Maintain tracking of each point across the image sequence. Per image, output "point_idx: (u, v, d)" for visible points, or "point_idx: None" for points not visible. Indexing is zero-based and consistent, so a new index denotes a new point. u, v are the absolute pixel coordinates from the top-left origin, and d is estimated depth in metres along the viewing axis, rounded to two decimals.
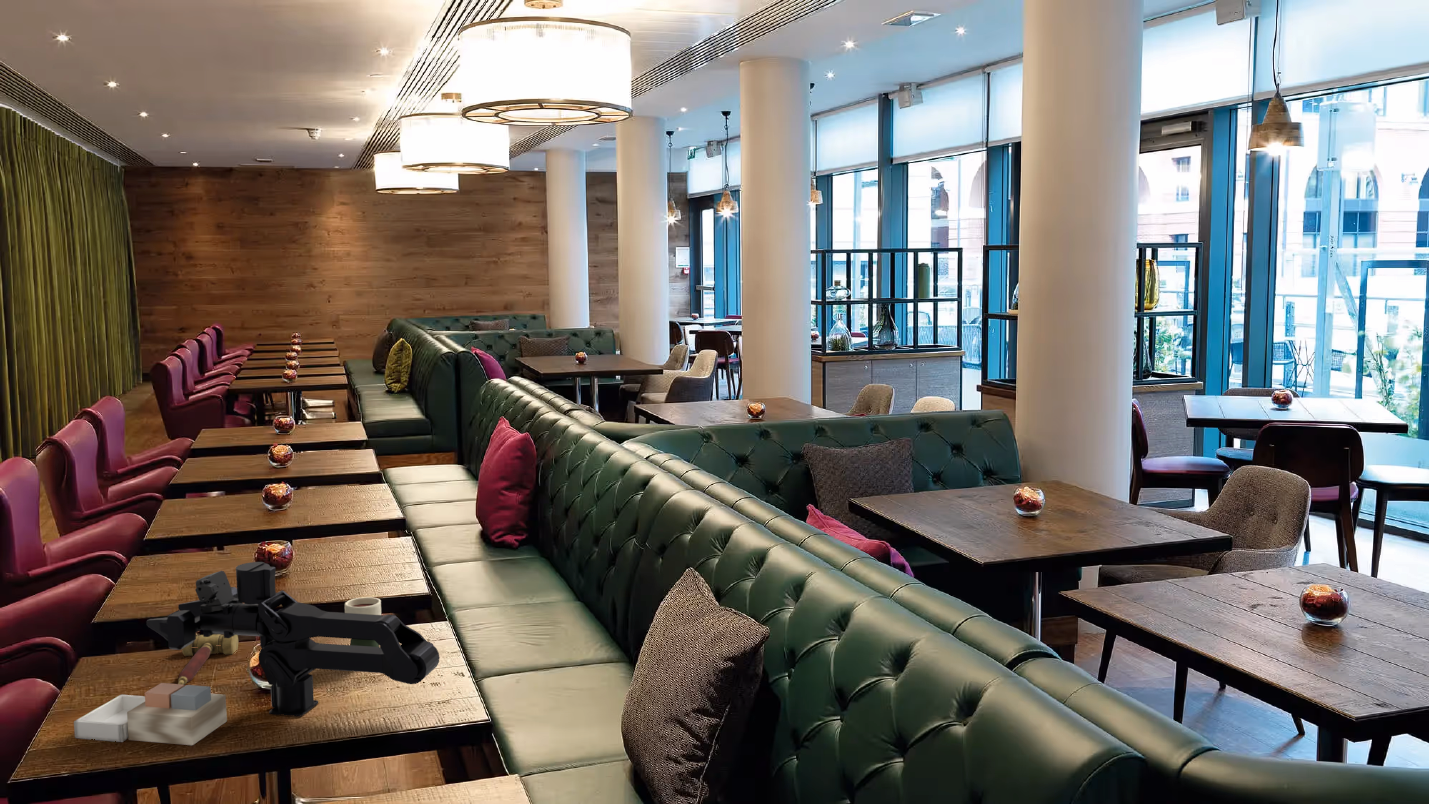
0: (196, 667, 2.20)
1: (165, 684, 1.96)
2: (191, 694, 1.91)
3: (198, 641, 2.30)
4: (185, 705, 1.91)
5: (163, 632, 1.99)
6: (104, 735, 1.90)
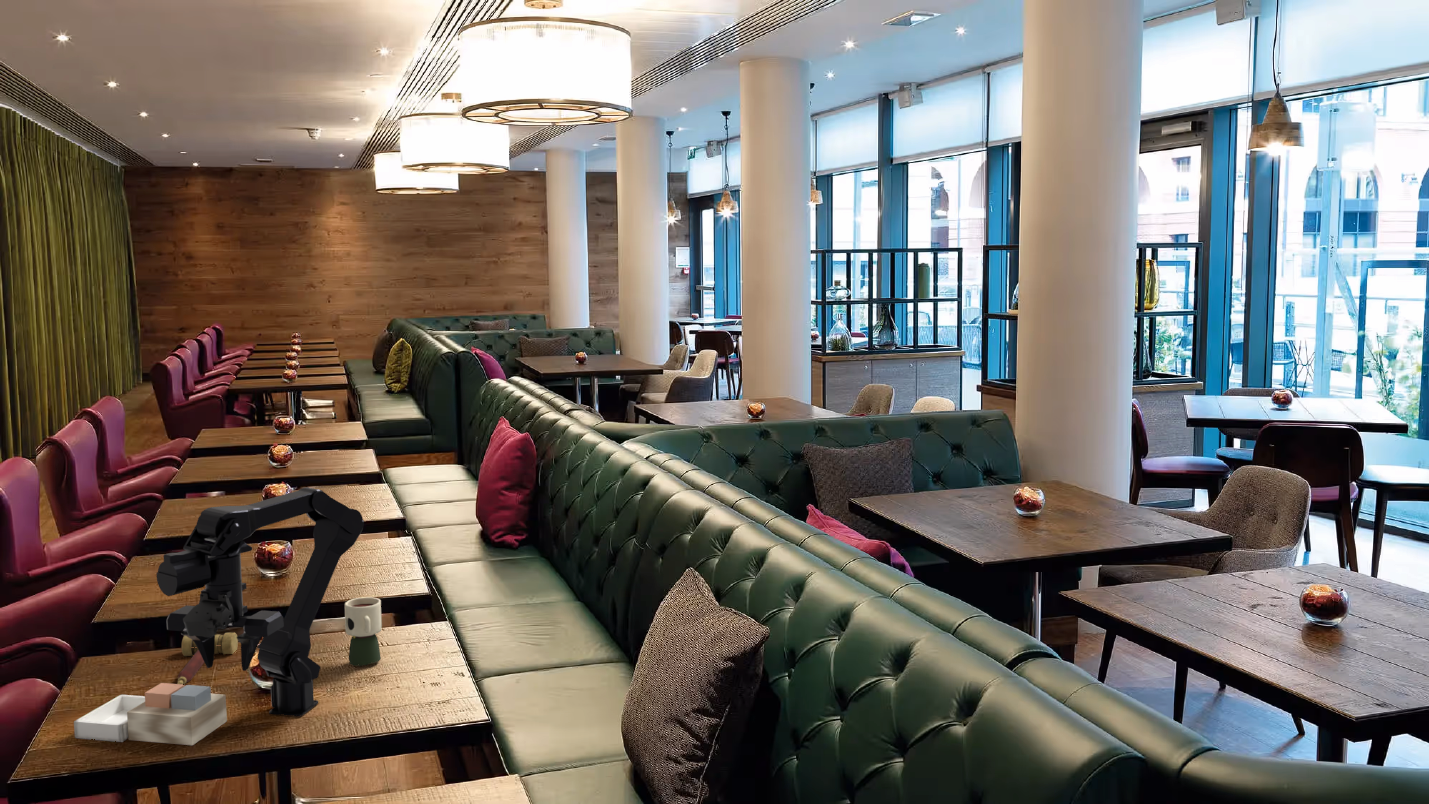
0: (196, 667, 2.20)
1: (165, 684, 1.96)
2: (191, 694, 1.91)
3: None
4: (185, 705, 1.91)
5: (255, 645, 1.91)
6: (104, 735, 1.90)
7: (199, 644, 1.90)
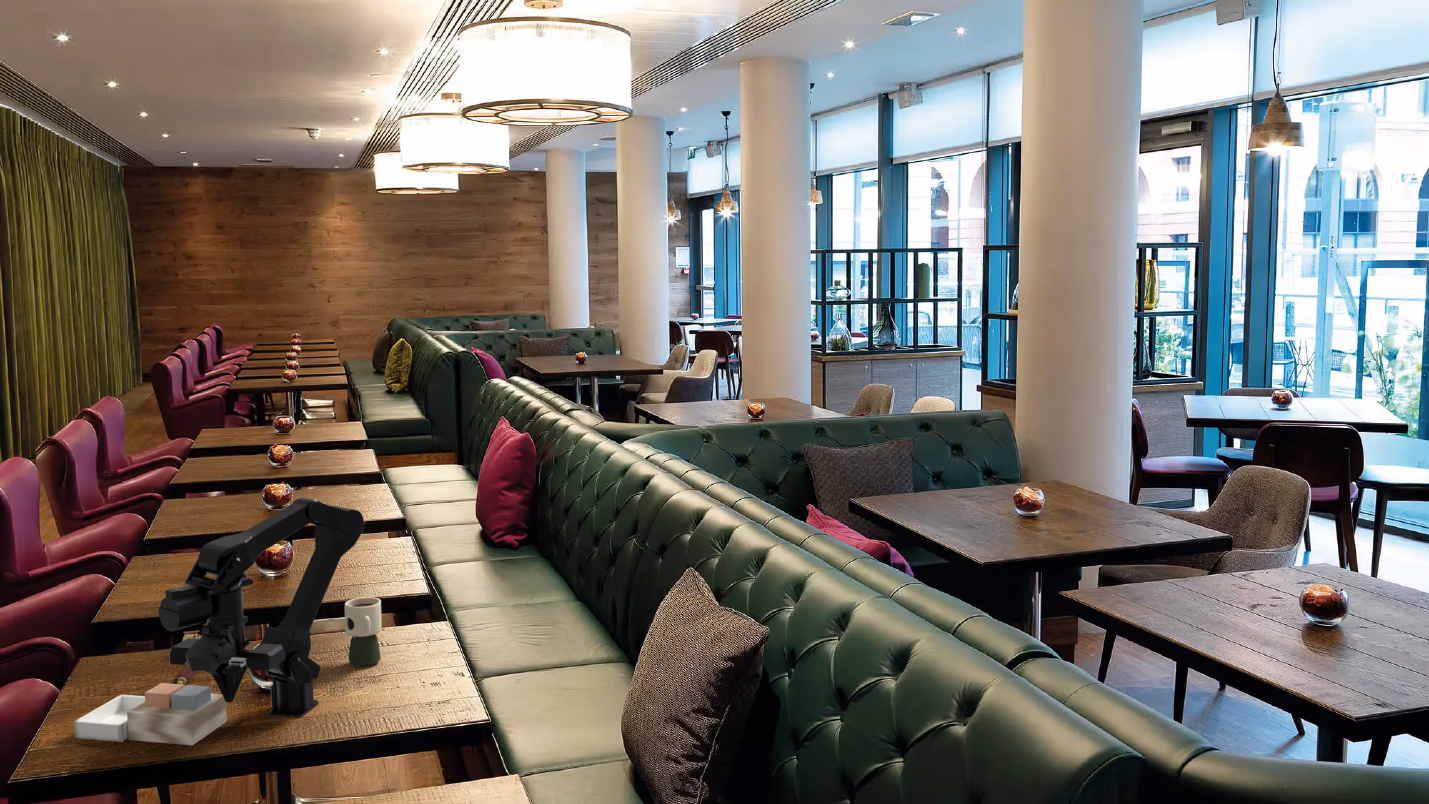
0: None
1: (165, 684, 1.96)
2: (191, 694, 1.91)
3: None
4: (185, 705, 1.91)
5: (240, 677, 1.92)
6: (104, 735, 1.90)
7: (218, 679, 1.90)
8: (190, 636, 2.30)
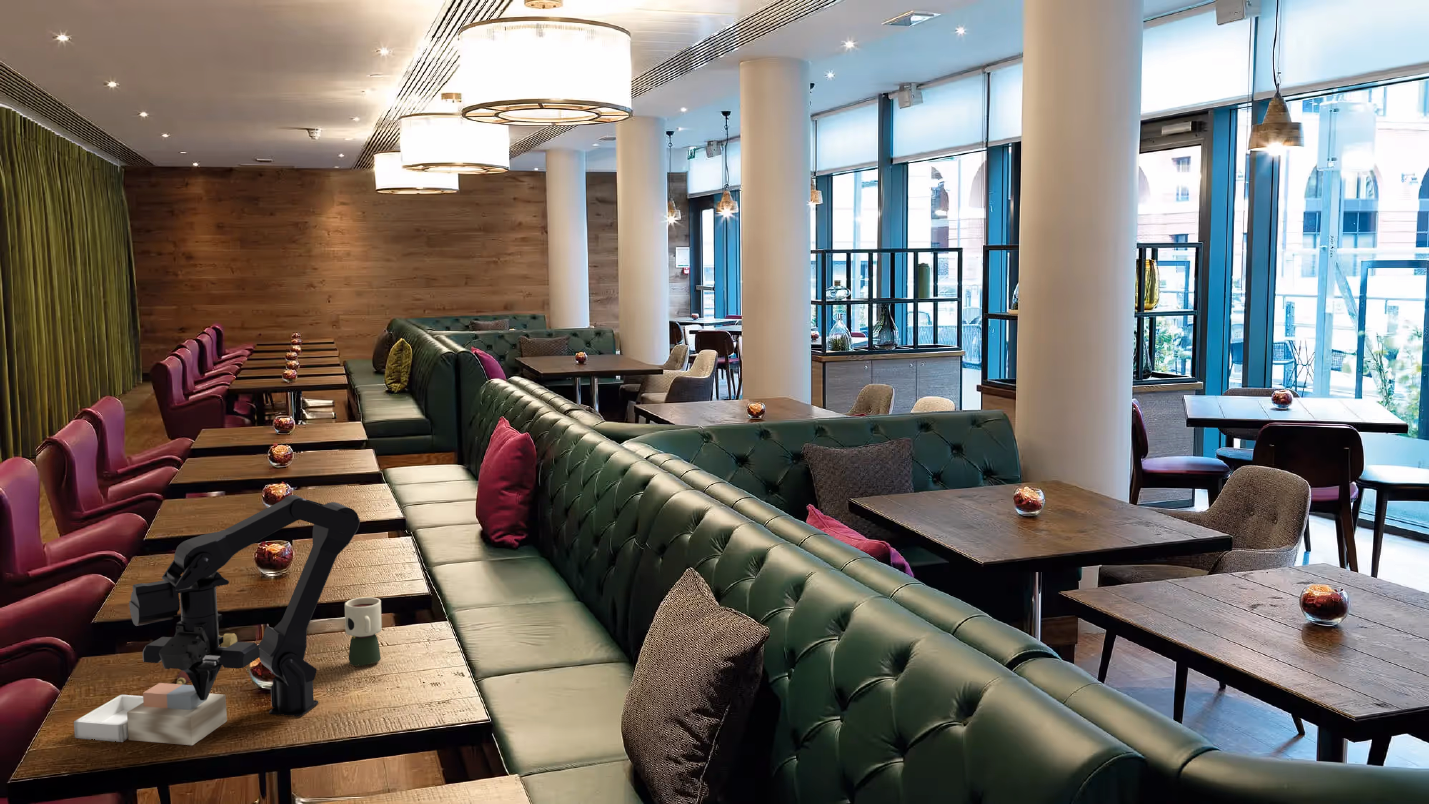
0: None
1: (163, 684, 1.96)
2: (187, 693, 1.92)
3: None
4: (181, 705, 1.91)
5: (214, 675, 1.93)
6: (104, 735, 1.90)
7: (192, 677, 1.91)
8: None
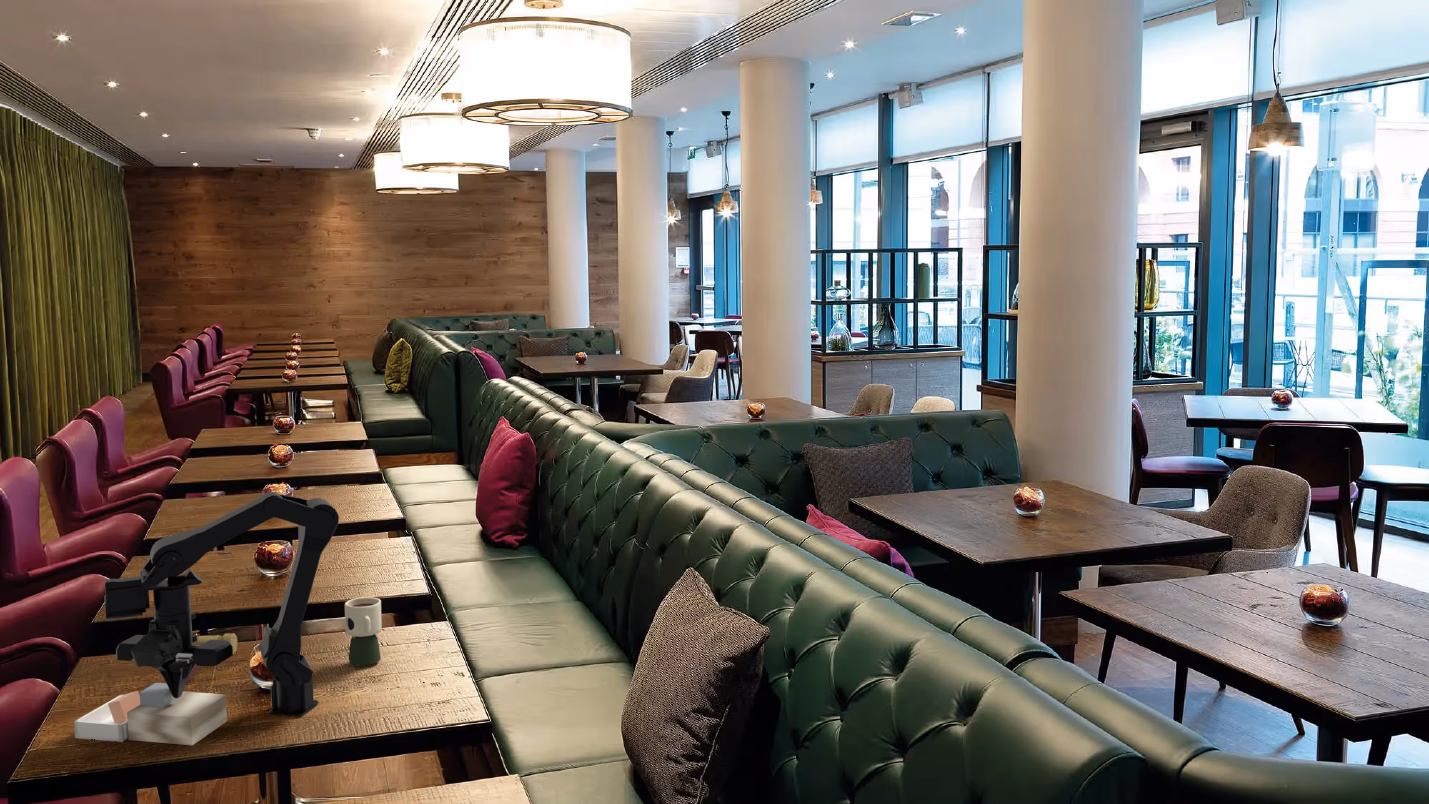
0: (195, 668, 2.19)
1: None
2: (160, 692, 1.92)
3: (197, 642, 2.29)
4: (153, 703, 1.92)
5: (188, 673, 1.94)
6: (104, 735, 1.90)
7: (166, 675, 1.92)
8: None
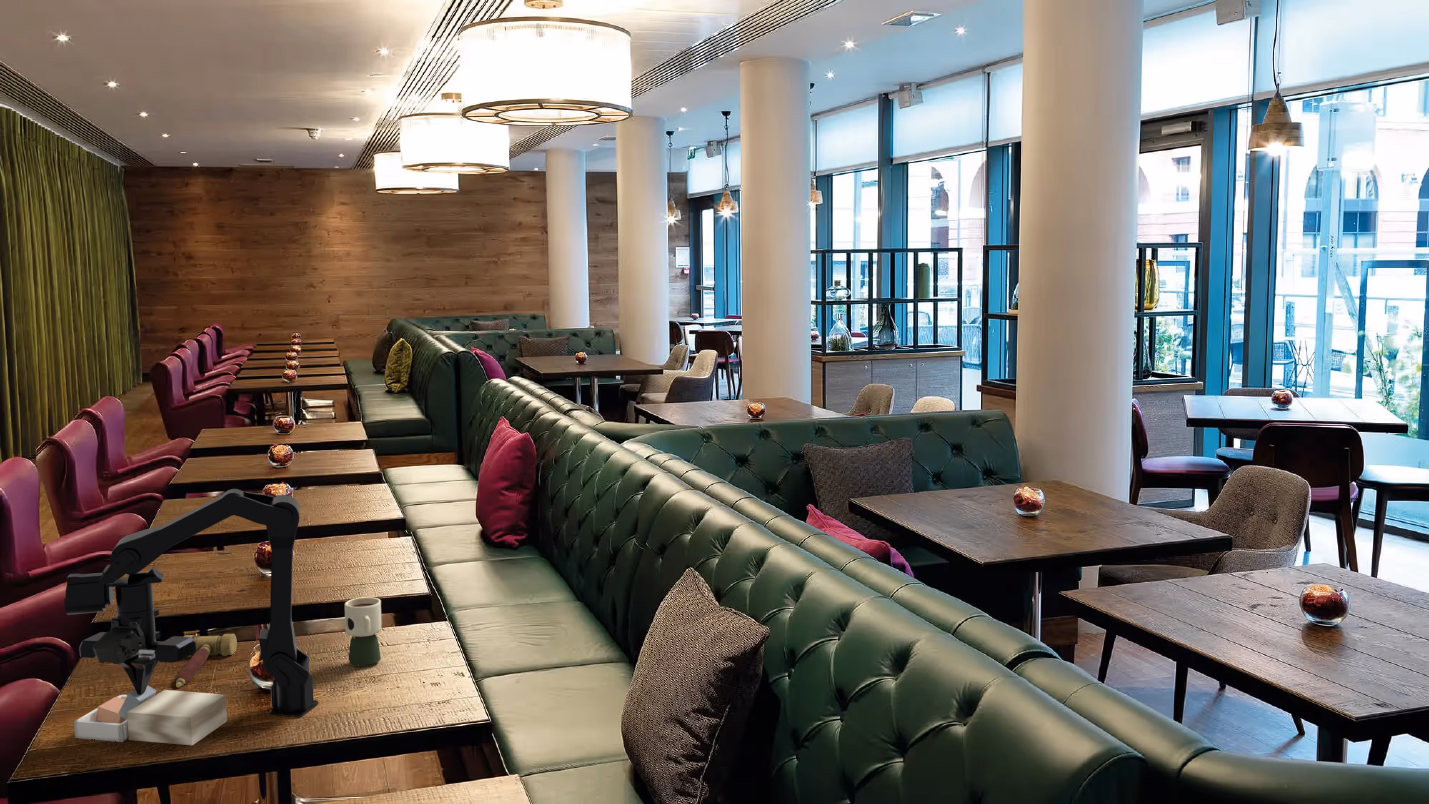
0: (194, 669, 2.19)
1: None
2: None
3: (196, 643, 2.29)
4: (132, 707, 1.93)
5: (151, 669, 1.95)
6: (104, 735, 1.90)
7: (129, 672, 1.93)
8: None
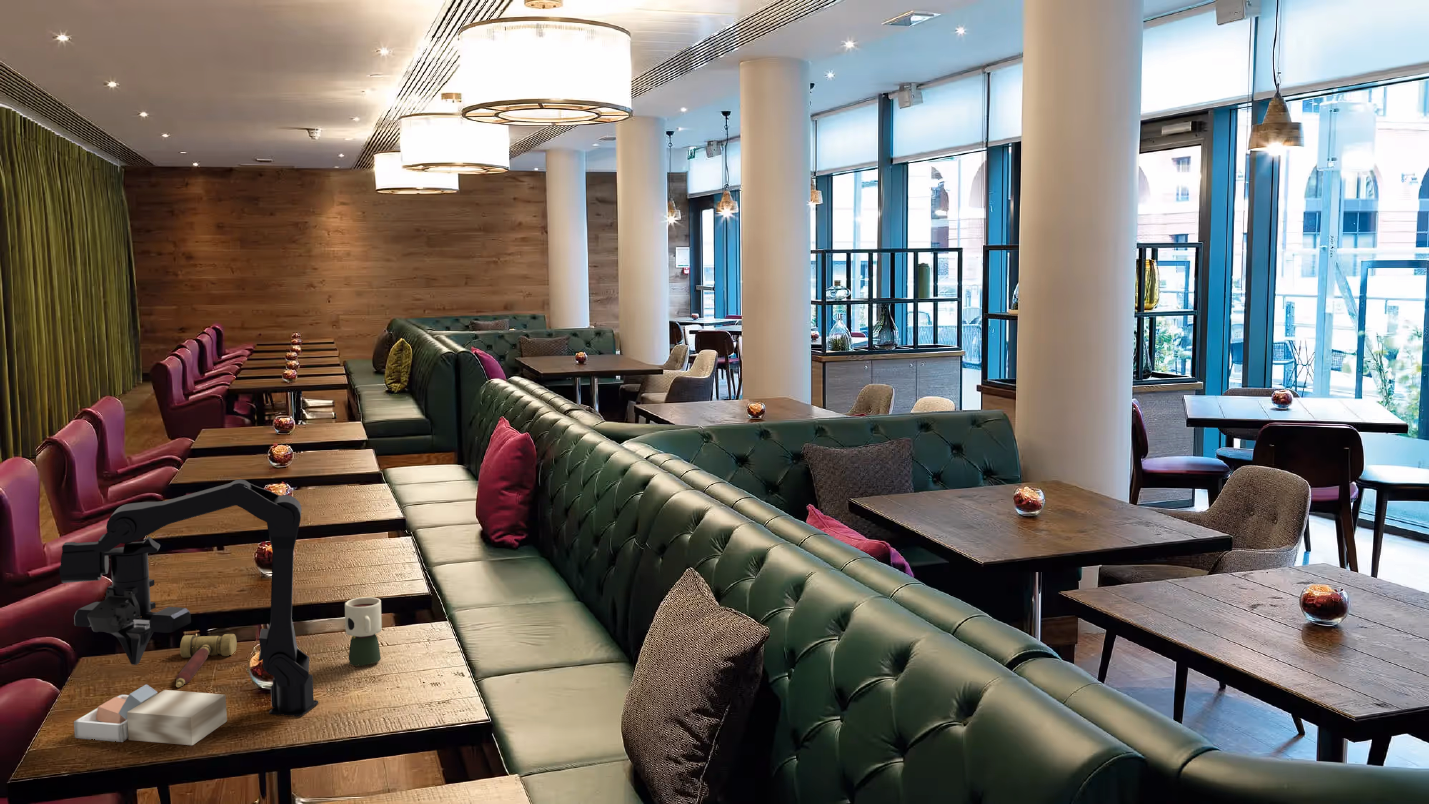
0: (194, 669, 2.19)
1: None
2: None
3: (196, 643, 2.29)
4: None
5: (146, 640, 1.94)
6: (104, 735, 1.90)
7: (123, 641, 1.92)
8: (189, 637, 2.29)
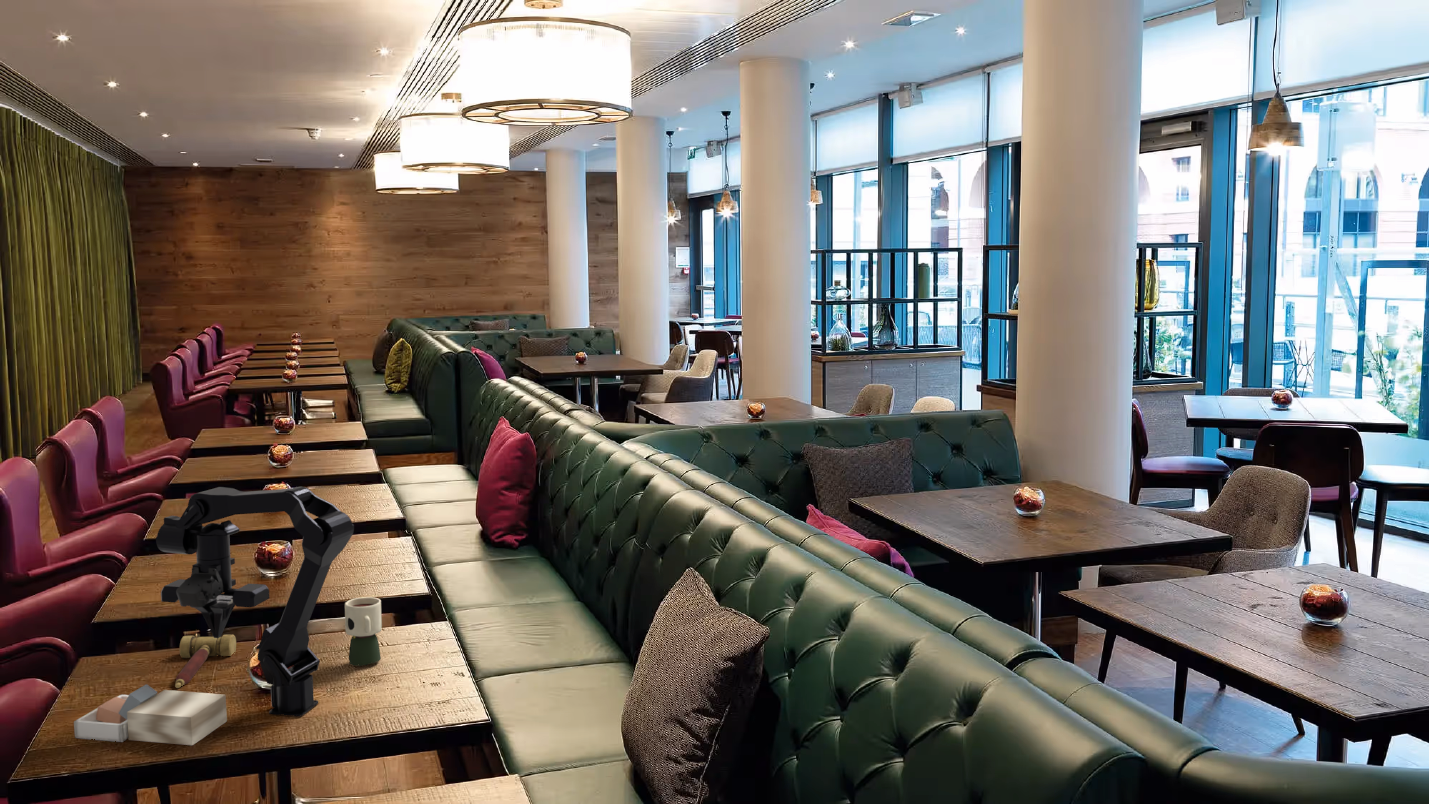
0: (194, 670, 2.18)
1: None
2: None
3: (196, 643, 2.29)
4: None
5: (227, 614, 2.07)
6: (104, 735, 1.90)
7: (207, 616, 2.05)
8: (188, 637, 2.29)
